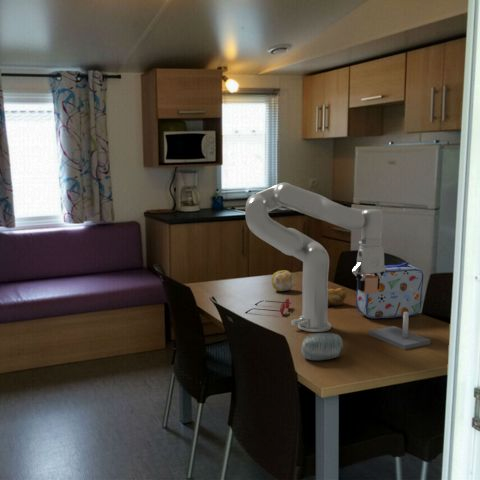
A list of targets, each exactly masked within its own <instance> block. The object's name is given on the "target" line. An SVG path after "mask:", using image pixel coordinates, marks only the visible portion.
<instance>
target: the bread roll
mask: <svg viewBox="0 0 480 480" xmlns="http://www.w3.org/2000/svg"><path fill="white" fill-rule="evenodd" d="M347 296H348V294H347V289H346V288H345V287H338V288H336V289H335V288H328V307H330V306H332V307H338V306H342V305H343V304H344V301H345V299H346V298H347Z"/></svg>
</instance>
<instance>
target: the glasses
mask: <svg viewBox="0 0 480 480" xmlns="http://www.w3.org/2000/svg"><path fill="white" fill-rule="evenodd" d="M261 302H263V300H260V301H258V302H256V303H255V304H254V305H255V306H257V305H258V304H260V303H261ZM267 302H268V303H269V302H271V303H280V304H281V305H280V310H279V309H277V310H275V309H266V308H255V307H254V308H250V309H249V310H246V311H245V312H244V314H247V313H249V312H251V311H252V310H257V311H258V310H260V311H268V312H269V311H271V312H280V315H284V312H285V309H290V305H291V304H292V302H291V301H290V298H287V299H285V301H276V300H275V301H273V300H266V303H267Z"/></svg>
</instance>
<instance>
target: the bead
mask: <svg viewBox="0 0 480 480" xmlns="http://www.w3.org/2000/svg"><path fill="white" fill-rule="evenodd" d="M361 276H362V275H361ZM364 281H365V290H364V291H360V290H359V292H361V293H365V294H375V293H377V287H378V276H376V275H370V274H366V275H365V278H364Z"/></svg>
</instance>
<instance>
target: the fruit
mask: <svg viewBox="0 0 480 480" xmlns="http://www.w3.org/2000/svg"><path fill="white" fill-rule="evenodd" d="M271 284H272V285H271V286H272V287H273V289H275V290H276V291H277V292H286V291H289V290H291V289H292V288H293V287H294V285H295V277H294V275H293V273H291V272H290V271H289V270H285V269H284V270H277V271H276V272H273V274H272V276H271Z"/></svg>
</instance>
